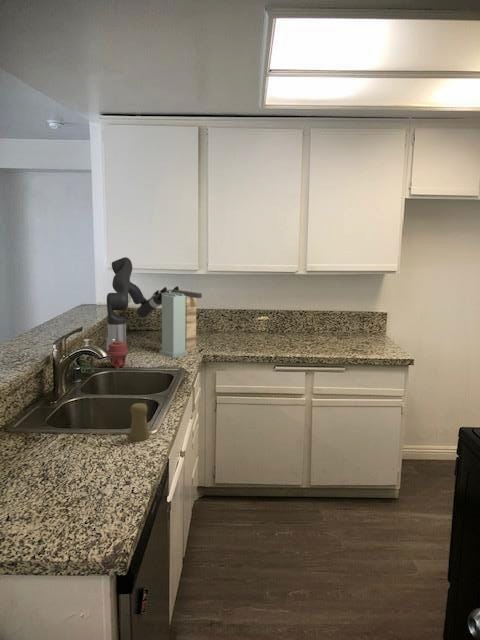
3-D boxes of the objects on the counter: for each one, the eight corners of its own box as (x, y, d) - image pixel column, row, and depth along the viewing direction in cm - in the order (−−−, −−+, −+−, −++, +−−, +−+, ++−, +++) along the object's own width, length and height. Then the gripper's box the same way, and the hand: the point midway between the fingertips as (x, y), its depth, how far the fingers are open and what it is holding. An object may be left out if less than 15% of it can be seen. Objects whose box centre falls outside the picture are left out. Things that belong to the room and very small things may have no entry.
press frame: (187, 354, 260) (188, 293, 254) (173, 357, 252) (173, 295, 247) (174, 350, 268) (174, 291, 262) (159, 353, 261) (159, 293, 255)
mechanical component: (119, 370, 226) (102, 367, 230) (133, 366, 235) (117, 363, 239) (118, 345, 224) (102, 342, 228) (132, 341, 233) (116, 338, 237)
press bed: (195, 348, 275) (196, 296, 270) (186, 350, 270) (186, 297, 265) (184, 345, 281) (184, 294, 276) (175, 347, 276) (175, 295, 271)
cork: (150, 434, 155) (150, 401, 153) (147, 441, 149) (147, 407, 147) (131, 433, 154) (130, 400, 153) (127, 441, 148) (127, 407, 147)
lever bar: (201, 297, 263) (201, 293, 263) (198, 298, 262) (198, 293, 261) (176, 293, 278) (176, 289, 278) (172, 294, 277) (172, 289, 276)
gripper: (146, 294, 285) (160, 282, 274) (165, 293, 295) (179, 281, 284) (149, 306, 284) (164, 294, 273) (169, 304, 294) (183, 293, 283)
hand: (172, 288), depth 279 cm, fingers open, 8 cm apart
